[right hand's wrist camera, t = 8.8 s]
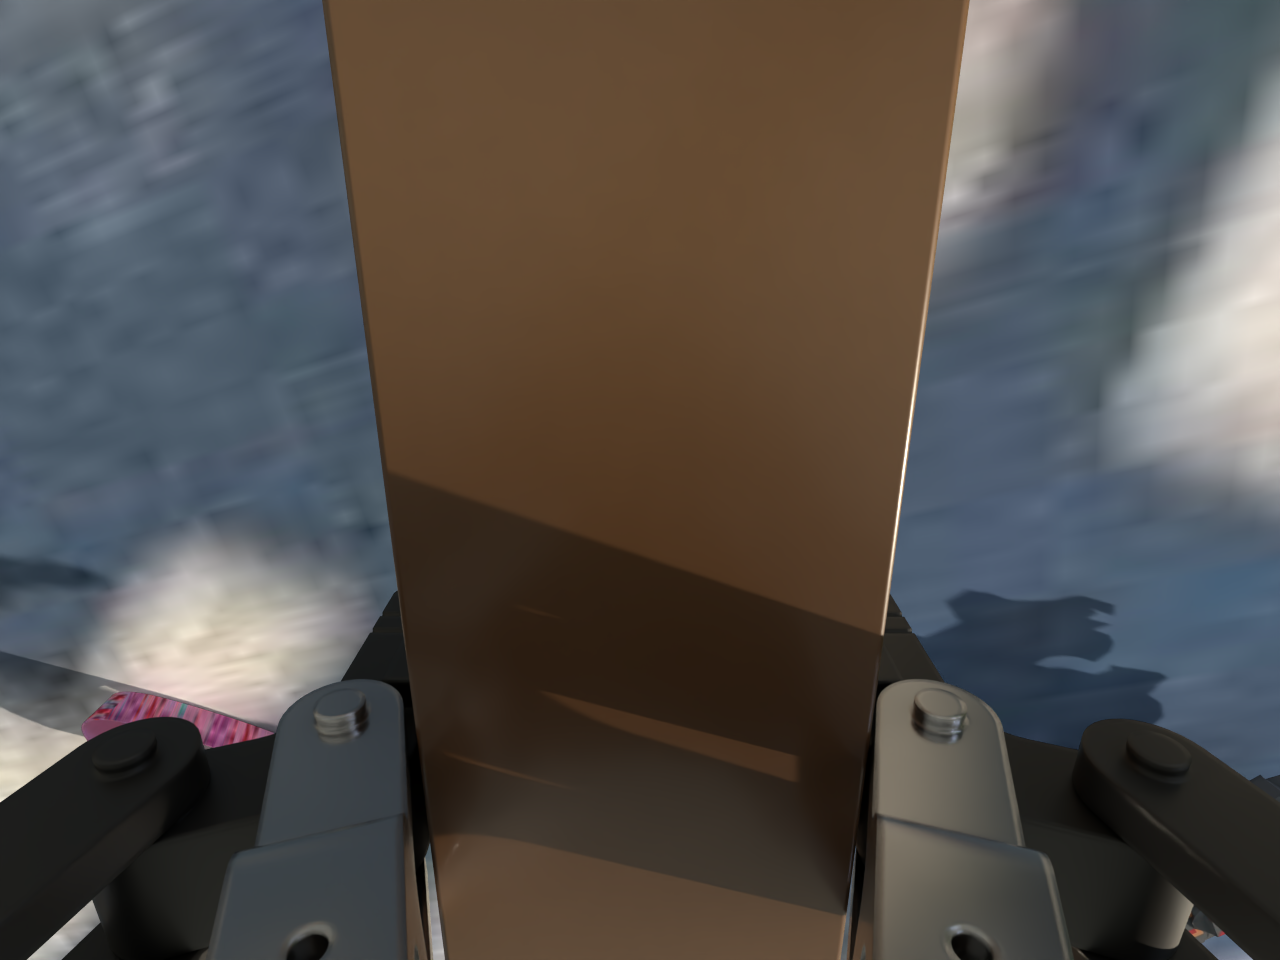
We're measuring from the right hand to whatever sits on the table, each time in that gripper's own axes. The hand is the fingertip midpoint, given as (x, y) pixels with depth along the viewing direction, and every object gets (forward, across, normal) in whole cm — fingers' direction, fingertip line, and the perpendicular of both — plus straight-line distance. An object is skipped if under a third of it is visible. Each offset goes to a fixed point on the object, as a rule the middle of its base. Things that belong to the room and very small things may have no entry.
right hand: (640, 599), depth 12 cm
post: (+3, 0, -36) cm, 36 cm away
